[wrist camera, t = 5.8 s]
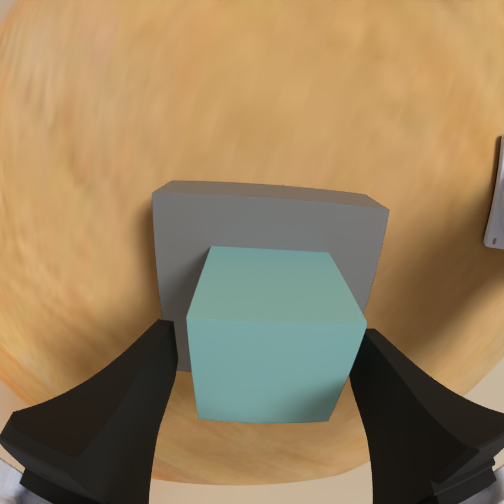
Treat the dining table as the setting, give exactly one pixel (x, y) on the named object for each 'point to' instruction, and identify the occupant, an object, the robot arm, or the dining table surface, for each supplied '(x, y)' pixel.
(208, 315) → the teal cube
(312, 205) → the charcoal plinth
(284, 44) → the dining table surface
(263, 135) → the dining table surface
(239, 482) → the dining table surface
